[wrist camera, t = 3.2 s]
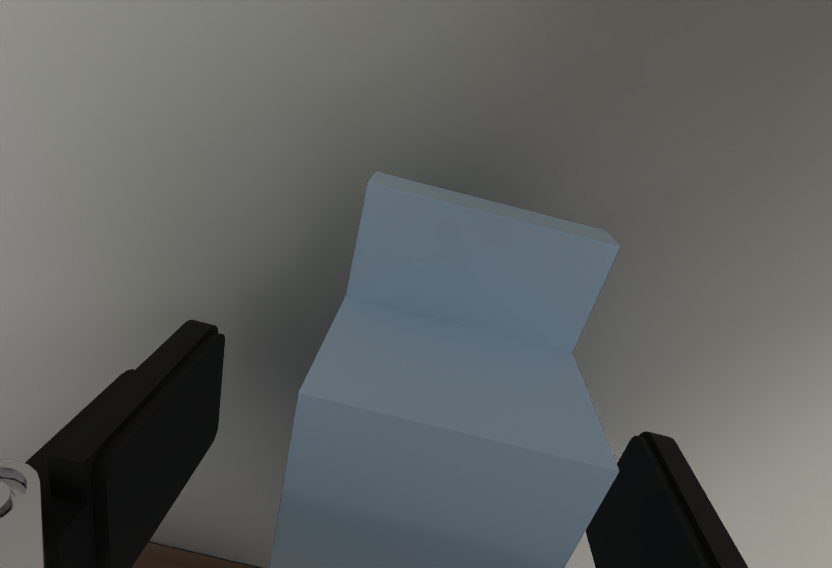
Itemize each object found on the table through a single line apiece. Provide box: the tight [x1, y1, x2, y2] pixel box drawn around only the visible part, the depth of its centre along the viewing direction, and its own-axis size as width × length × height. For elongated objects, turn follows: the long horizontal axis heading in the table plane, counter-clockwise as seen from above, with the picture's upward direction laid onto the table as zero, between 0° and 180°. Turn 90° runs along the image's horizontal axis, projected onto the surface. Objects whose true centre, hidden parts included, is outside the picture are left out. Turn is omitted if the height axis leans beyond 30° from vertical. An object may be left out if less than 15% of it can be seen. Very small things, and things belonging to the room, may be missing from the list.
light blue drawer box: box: [270, 171, 620, 568], centre depth 9 cm, size 11×4×6 cm, turn 167°
